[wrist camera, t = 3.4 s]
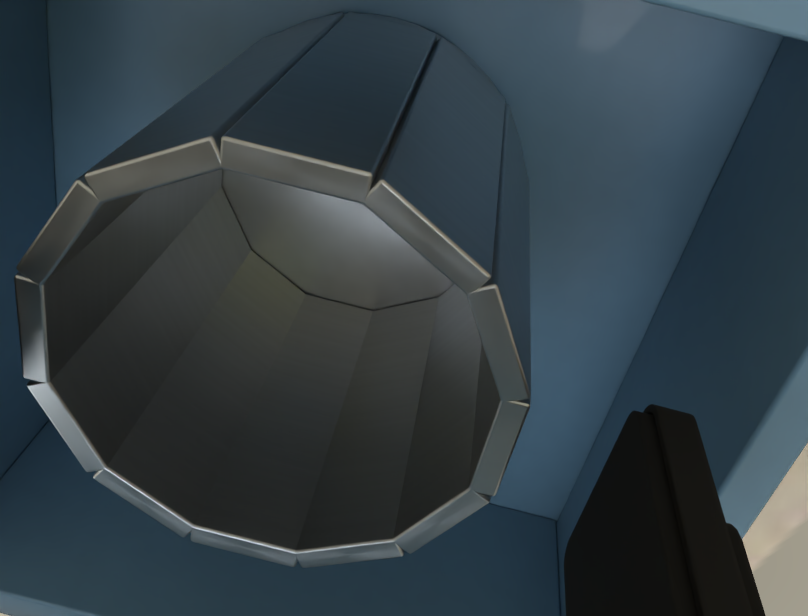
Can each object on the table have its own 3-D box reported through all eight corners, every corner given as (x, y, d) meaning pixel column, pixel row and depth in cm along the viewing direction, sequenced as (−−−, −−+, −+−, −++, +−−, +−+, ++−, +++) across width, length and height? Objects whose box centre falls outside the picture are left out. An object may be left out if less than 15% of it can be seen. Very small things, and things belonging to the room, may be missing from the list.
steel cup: (224, -25, 15) (-6, 79, 8) (567, 60, 15) (600, 231, 8) (203, 272, 18) (32, 502, 12) (477, 341, 18) (452, 608, 12)
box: (16, -260, 14) (-352, -332, 8) (855, -52, 14) (1094, 27, 8) (55, 393, 22) (-109, 586, 16) (574, 523, 22) (591, 764, 16)
